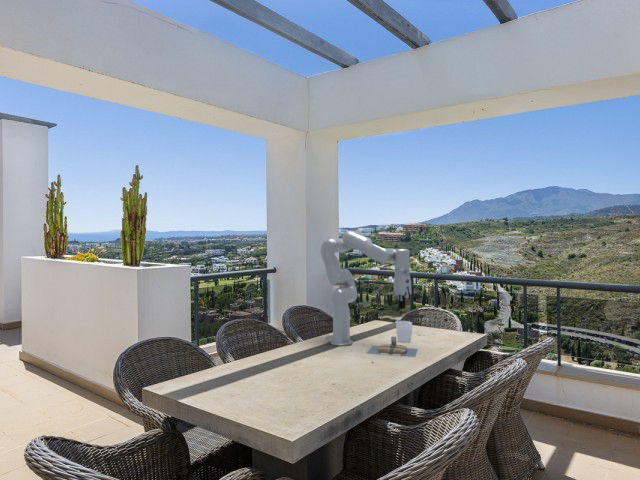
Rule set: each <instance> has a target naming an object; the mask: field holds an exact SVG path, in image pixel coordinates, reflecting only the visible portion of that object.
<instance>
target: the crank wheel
mask: <svg viewBox="0 0 640 480" xmlns="http://www.w3.org/2000/svg"><path fill="white" fill-rule="evenodd" d="M390 342H391V343H388V344H381V345H378V346H379V351H380V352H382V353H387V354H402V353H406V352H407V348H408V347H407V346H405V345H402V344H397V336H391V339H390Z"/></svg>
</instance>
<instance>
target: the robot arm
mask: <svg viewBox="0 0 640 480" xmlns="http://www.w3.org/2000/svg"><path fill="white" fill-rule="evenodd" d="M353 249H355V250H357V251H359V252H362V253H363V254H364V255H365V256H367V257H368V258H369V259H371V260H374V261H377V262H378V263H382V264H388V263H394V278H393V293H394V294H395V297H397V301H398V306H397V307H398V308H397V309H399V310H402V309H403V310H405V309H406V301H407V299H410V296H411V295H412V280H411V275H410V250H409V249H407V248H393V247H392V248H389V247H388V248H387V247H386V248H384V247H381V246H378V245H377V244H374V243H373V240H372V239H371V238H370V237H367V236H365V235H364V233H363V232H362V231H360V230H352V229H351V230H347V231H344V233H343V234H342V236H341V237H331V238H327V239H325V240H324V241H323V243H322V244H321V247H320V256H321V258H322V261H323V264H324V268H325V270H326V275H327V278H328V281H329V283H330V285H331V286H336V287H337V288H335V289H333V290H332V293H331V296H330V297H331V300H330V301H331V305H332V334H331V335H329V334H327V335H325V338H326V340H330V341H329V343H330V344H331V345H333V346H339V347H340V346H343V347H345V346H351V345H352V344H354V343H353V340H351V320H350V319H351V317H350V316H351V313H350V312H351V311H350V307H349V304H350V303H354V302H356V300H357V298H358V290H357V286H356V284H355V280H354V276H353V274H352V273H351V271H350V270H349V269H346V268H342V267H341V265H340V260H339V258H338V257H337V256H336V253H337V254H338V253H340V254H341V253H346V252H348V251H351V250H353ZM338 286H340V287H338Z"/></svg>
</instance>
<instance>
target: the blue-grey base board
mask: <svg viewBox="0 0 640 480" xmlns="http://www.w3.org/2000/svg"><path fill="white" fill-rule="evenodd" d="M379 346H380V345H372V346H371V347H370V348H369V349H368V351H367V352H366V354H367V355H370V354H371V355H385V356H394V357H395V356H396V357H397V356H398V357H410V358H416V356H417V353H418V351H419V348H412V347H411V348H410V347H409V348H408V347H407V352H406V353H402V354H387V353H382V352H380V351H379Z"/></svg>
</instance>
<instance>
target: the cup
mask: <svg viewBox="0 0 640 480" xmlns="http://www.w3.org/2000/svg"><path fill="white" fill-rule="evenodd" d="M395 325H396V326H395V330H396V338H397V342H398V343H411V342H412V341H411V340H412V335H413V333H412V332H413V322H412V321H408V320H400V321H399V320H398V321H396V323H395Z"/></svg>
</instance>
